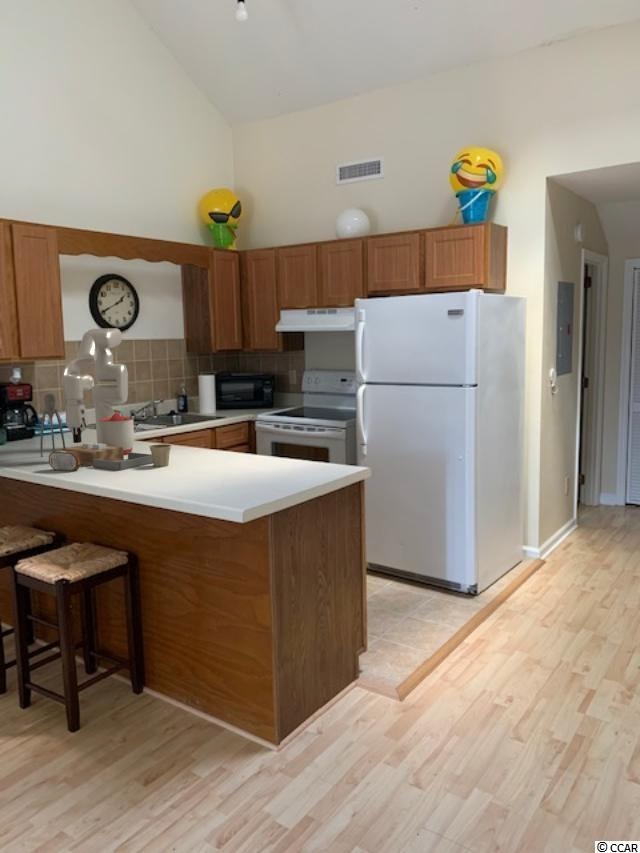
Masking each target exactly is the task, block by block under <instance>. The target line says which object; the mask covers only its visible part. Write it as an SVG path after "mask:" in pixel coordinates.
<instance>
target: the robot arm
mask: <svg viewBox="0 0 640 853" xmlns="http://www.w3.org/2000/svg"><path fill="white" fill-rule="evenodd" d="M122 340H123V334H122V332H121V329H119V328H117V327H115V328H114V327H113V328H92V329H89V330H87V331H86V332H85V333H83V336H82V339H81V342H80V345H79V351H78V354H77V356H74V357H73V358H72V359H71V360H70V361H69V362H68V363H67V364H66V365H65V367H64V368H63V372H62V375H61V380H60V384H61V387H62V389H63V390H65V406H66V407H65V424H66V426H67V429H68V430H70V431H71V434H72V441H73V443H74V444H80V443H82V434H83V432H84V431H86V427H88V426H89V424H88V422H89V421H88V414H87V409H86V406H85V403H84V391H90V390H91V396H92V402H93V406H94V414H95V416H94V417H95V432H96V444H100V443H101V444H102V438H101V424H100V419H103V418H111V417H112V416H113V415H114V414H115V413H116V412H115V410H114V408H113V407H112V406H111V405H120V404H121V405H123V404H125V403H127V401H128V396H129V373H128V369H127V366H126V365H125V364H124V363H113V362H114V360H113V359H114V357H113V355H114V354H113V352H112V351H111V348H115V347H117V346H119V345H120V344H121V343H122ZM92 365H95V366H94V374H95V380H96V381H97V382H99V383H106V384H101V385H97V386H94V385H95V380H94V377H92V376H91V375H90V374H86V373H85V374H83V373H82V374H80V373H79V374H76V373H77V372H78V371H81V370H82V369H84V368H87V367H90V366H92ZM107 383H116V384H111V385H110V384H107Z"/></svg>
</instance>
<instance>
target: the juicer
mask: <svg viewBox="0 0 640 853" xmlns="http://www.w3.org/2000/svg"><path fill="white" fill-rule="evenodd" d="M43 402H44V407H45V409H43V412H42V418H41V424H40V425H41V426H40V443H39V444H40V446H39V448H40V458H43V440H44V425H45V419H46V415H47V416H48V417H49V420H50V427H51V428H50V432H51V445H52V452H54V451H56V449H55V448H56V447H55V435H54V425H53V424H54V423H53V418H54V414H55V416H56V419H57V423H58V427H59V431H60V436H61V441H62V447H63V448H62V449H64V448H66V442H65V437H64V436H65V435H64V430H63V427H62V423H61V419H60V416H59V412H58V409H57V408H56V398H55V395H54V394H53V393H46V394H45V395H44V397H43Z"/></svg>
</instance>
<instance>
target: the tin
mask: <svg viewBox="0 0 640 853" xmlns="http://www.w3.org/2000/svg"><path fill="white" fill-rule="evenodd" d="M48 463H49V467H51V468H52V469H53V470H55V471H65V472H74V471H78V470H79V469H80V468H81V466H82V464H81V458H80V456H79V454H78V453H76V452H75V451H64V450H62V449H58V450H57V449H55V451H54V452H53V451H52V452H51V453H50V454H49V455H48Z"/></svg>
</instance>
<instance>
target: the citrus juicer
mask: <svg viewBox="0 0 640 853" xmlns="http://www.w3.org/2000/svg"><path fill="white" fill-rule="evenodd" d="M100 424H101V438H102V444H106V445H108V446H118V447H123V455H128V452H132V451H133V449H134V444H135V443H134V442H135V429H138V425H136V424H135V418H131V417H129V416H122V415H121V414H120V413H119V412H117V411H116V412H115V414H114V415H113V416H112V417H111V418H103V419H100Z"/></svg>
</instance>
